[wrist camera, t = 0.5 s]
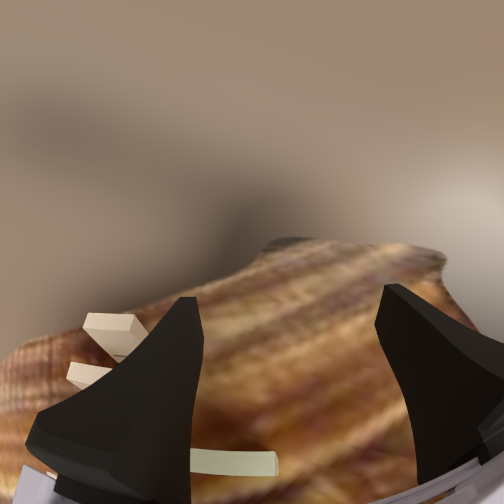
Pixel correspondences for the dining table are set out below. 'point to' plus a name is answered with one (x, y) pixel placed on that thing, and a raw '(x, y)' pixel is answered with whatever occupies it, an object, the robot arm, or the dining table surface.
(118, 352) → the domino
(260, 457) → the domino
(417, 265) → the dining table surface
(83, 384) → the domino
